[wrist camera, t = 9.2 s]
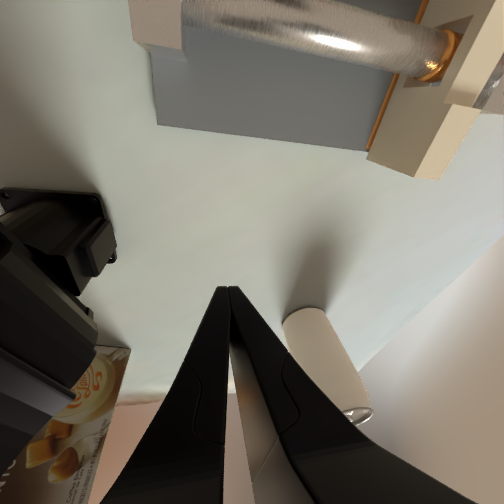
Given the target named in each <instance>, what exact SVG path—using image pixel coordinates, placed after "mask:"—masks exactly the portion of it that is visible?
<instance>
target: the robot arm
mask: <svg viewBox="0 0 504 504" xmlns="http://www.w3.org/2000/svg"><path fill="white" fill-rule="evenodd" d="M5 193H6V194H8V195H9V196H10V197H8V196H6V195H5ZM91 198H94V199H96V201H97V202H94V201H92V199H91ZM0 203H1V205H2V207H3V209H4V211H5V213H3V214H2V215H0V478H1V477H2V475H3V474H4V473H5V471H6V470H7V469H8V468H9V466H10V465H11V464H12V462H13V461H14V460H15V459H16V457H17V456H18V455H19V453H20V452H21V451H22V450H23V448H24V447H25V446H26V445H27V444H28V442H29V441H30V440H31V439H32V438H33V436H34V435H35V434H36V433H37V432H38V431H39V430H40V429H41V428H42V427H43V426H44V425H45V424H46V423H47V422H48V421H49V420H50V419H51V418H52V417H53V416H55V415H56V414H57V413H58V412H60V411H61V410H62V409H63V408H65V407H66V406H67V405H68V404H70V403H71V402H72V401H73V400H74V399H75V398H76V393H74V392H73V391H71V389H72V388H73V387H74V386H75V385H76V384H77V382H78V381H79V380H80V378H81V377H82V376H83V375H84V373H85V372H86V371H87V369H88V368H89V367H90V365H91V363H92V361H93V360H94V358H95V356H96V353H97V351H96V349H94V347H95V344H96V340H97V335H98V331H97V327H96V323H95V322H94V321H93V311H92V310H91V309H90V308H89V307H85V306H84V305H83V304H82V303H81V302H80V301H79V300H78V299H77V298H76V297H75V296H80V295H81V293H82V292H83V290H84V289H85V287H86V286H87V284H88V282H89V281H90V279H91V278H92V277H97V276H98V275H100V273H101V272H102V270H103V268H104V267H105V265H106V264H111V263H114V262H115V261H116V259H117V254H116V251H115V249H116V247H117V244H116V240H115V236H114V232H113V228H112V224H111V221H110V220H108V219H107V216H106V212H105V208H104V204H103V200H102V198H101V197H100V196H99V195H98V194H96V193H87V192H71V191H55V190H39V189H23V188H7V187H6V188H1V189H0ZM110 257H111V258H112V259H110ZM229 352H230V358H231V364H232V370H233V376H234V382H235V387H236V393H237V398H238V405H239V411H240V417H241V422H242V429H243V434H244V440H245V446H246V452H247V458H248V464H249V470H250V476H251V481H252V483H253V484H252V488H253V493H254V499H255V504H478V503H475V502H474V501H472V500H470V499H468V498H466V497H464V496H463V495H461V494H460V493H458V492H456V491H454V490H453V489H451V488H449V487H448V486H446V485H444V484H443V483H441V482H439V481H438V480H436V479H434V478H433V477H431V476H429V475H428V474H426V473H424V472H422V471H421V470H419V469H417V468H416V467H414V466H412V465H411V464H409V463H407V462H406V461H404V460H402V459H401V458H399V457H397V456H396V455H394V454H392V453H390V452H389V451H387V450H385V449H384V448H382V447H381V446H379V445H377V444H376V443H374V442H373V441H372V440H371V439H369V438H368V437H367V436H366V435H364V434H363V433H362V432H361V431H360V430H359V429H358V428H357V427H356V426H355V425H354V424H353V423H352V422H351V421H350V420H349V419H348V418H347V417H346V416H345V415H344V414H343V413H342V411H341V410H340V409H339V408H338V407H337V406H336V405H335V404H334V403H333V402H332V401H331V400H330V399H329V398H328V397H327V396H326V395H325V393H324V392H323V391H322V390H321V389H320V388H319V387H318V386H317V385H316V384H315V383H314V382H313V380H312V379H311V378H310V377H309V376H308V375H307V374H306V373H305V371H304V370H303V369H302V368H301V366H300V365H299V364H298V363H297V362H296V360H295V359H294V358H293V356H292V355H291V354H290V353H289V352H288V350H287V349H286V347H285V346H284V345H283V344H282V342H281V341H280V340H279V338H278V337H277V336H276V334H275V333H274V332H273V331H272V329H271V328H270V327H269V325H268V324H267V323H266V322H265V320H264V319H263V318H262V316H261V315H260V314H259V312H258V311H257V310H256V309H255V307H254V306H253V305H252V303H251V302H250V301H249V300H248V298H247V297H246V296H245V294H244V293H243V292H242V291H241V289H240V288H239V287H238V286H229V287H228V288H227V286H218V287H217V288H216V290H215V292H214V294H213V296H212V299H211V301H210V303H209V305H208V308H207V310H206V312H205V314H204V316H203V319H202V321H201V323H200V325H199V328H198V330H197V332H196V334H195V336H194V339H193V341H192V343H191V345H190V348H189V350H188V352H187V354H186V356H185V359H184V362H183V363H182V365H181V367H180V369H179V372H178V374H177V376H176V378H175V380H174V382H173V384H172V386H171V388H170V390H169V392H168V394H167V395H166V397H165V399H164V401H163V403H162V405H161V406H160V408H159V410H158V412H157V413H156V415H155V417H154V419H153V420H152V422H151V423H150V425H149V427H148V428H147V430H146V432H145V433H144V435H143V437H142V439H141V440H140V442H139V444H138V445H137V447H136V449H135V450H134V452H133V454H132V455H131V457H130V459H129V461H128V462H127V464H126V465H125V467H124V468H123V470H122V472H121V473H120V475H119V476H118V478H117V479H116V481H115V483H114V484H113V486H112V487H111V488H110V490H109V491H108V493H107V494H106V495H105V497H104V498H103V500H102V501H101V502H100V504H223V481H224V480H223V479H224V453H225V447H224V446H225V431H226V410H227V390H228V369H229Z"/></svg>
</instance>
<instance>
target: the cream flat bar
mask: <svg viewBox="0 0 504 504" xmlns="http://www.w3.org/2000/svg"><path fill="white" fill-rule="evenodd" d="M420 25H424V26H427V27H431V28H434V29H438V30H440V29H448V30H452V31H455V32H458V33H462V34H464V36H463V38H462V40H461V42H460V44H459V46H458V48H457V50H456V52H455V54H454V56H453V58H452V61H451V63H450V65H449V67H448V69H447V71H446V73H445V75H444V77H443V79H442V81H441V83H440V85H439V86H432V87H430V86H431V84H432V83H427V82H423V81H418V80H415V79H414V78H413V77H411V76H406V75H402V74H400V75H399V78H398V80H397V83H396V85H395V88H394V90H393V93H392V95H391V98H390V100H389V103H388V105H387V108H386V110H385V113H384V115H383V118H382V120H381V123H380V125H379V128H378V131H377V133H376V136H375V138H374V141H373V143H372V146H371V148H370V151H369V153H368V156H367V158H366V159H367V160H370V161H372V162H375V163H377V164H380V165H383V166H385V167H388V168H390V169H393V170H396V171H398V172H401V173H404V174H406V175H409V176H411V177H415V178H425V179H434V180H440V178H441V176H442V175H443V173H444V171H445V170H446V168H447V166H448V165H449V163H450V161H451V160H452V158H453V156H454V155H455V153H456V151H457V150H458V148H459V146H460V145H461V143H462V141H463V140H464V138H465V136H466V135H467V133H468V131H469V130H470V128H471V126H472V125H473V123H474V121H475V120H476V118H477V116H478V115H479V113H480V111H481V109H476V108H472V106H473V105H474V103H475V101H476V99H477V98H478V96H479V94H480V92H481V91H482V89H483V87H484V86H485V84H486V82H487V80H488V79H489V77H490V75H491V73H492V72H493V70H494V68H495V66H496V65H497V63H498V61H499V60H500V58H501V56H502V54H503V53H504V0H429V2H428V5H427V7H426V10H425V12H424V15H423V17H422V20H421V22H420Z"/></svg>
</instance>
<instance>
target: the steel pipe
mask: <svg viewBox="0 0 504 504" xmlns="http://www.w3.org/2000/svg"><path fill="white" fill-rule="evenodd" d="M128 2H129V10H130V18H131V26H132V34H133V40H134V41H135V42H136V43H137V44H139V45H140V46H141V47H142V48H144V49H145V50H146V51H147V52H149V53H150V54H154V55H159V56H164V57H169V58H174V59H180V60H185V61H187V27H192V28H196V29H201V30H205V31H209V32H214V33H218V34H223V35H227V36H232V37H236V38H241V39H245V40H250V41H254V42H259V43H263V44H268V45H272V46H277V47H281V48H286V49H290V50H295V51H299V52H303V53H308V54H312V55H317V56H321V57H326V58H330V59H335V60H339V61H344V62H348V63H353V64H357V65H362V66H366V67H371V68H375V69H380V70H384V71H389V72H393V73H398V74H402V75H406V76H411V77H413V78H414V79H415V80H418V81H423V82H427V83H436V82H438V83H441V81H442V79H443V77H444V75H445V73H446V71H447V69H448V67H449V65H450V63H451V61H452V58H453V56H454V54H455V52H456V50H457V48H458V46H459V44H460V42H461V40H462V38H463V36H464V35H463V34H462V33H458V32H455V31H452V30H448V29H440V30H438V29H434V28H431V27H427V26H424V25H420V24H417V23H413V22H410V21H406V20H403V19H399V18H396V17H392V16H389V15H385V14H382V13H378V12H375V11H371V10H368V9H365V8H361V7H358V6H354V5H351V4H347V3H344V2H340V1H337V0H128ZM186 26H187V27H186ZM472 108H476V109H481V111H480V113H481V114H499V115H504V53H503V54H502V56H501V58H500V60H499V61H498V63H497V65H496V66H495V68H494V70H493V72H492V73H491V75H490V77H489V79H488V80H487V82H486V84H485V86H484V87H483V89H482V91H481V92H480V94H479V96H478V98H477V99H476V101H475V103H474V105H473V106H472Z"/></svg>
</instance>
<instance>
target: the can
mask: <svg viewBox="0 0 504 504" xmlns="http://www.w3.org/2000/svg"><path fill="white" fill-rule="evenodd" d="M282 330H283V334H284V337H285V340H286V343H287V346H288V349H289V353H290V354H291V355H292V356H293V358H294V359H295V360H296V362H297V363H298V364H299V365H300V366H301V368H302V369H303V370H304V371H305V373H306V374H307V375H308V376H309V377H310V378H311V379H312V380H313V382H314V383H315V384H316V385H317V386H318V387H319V388H320V389H321V390H322V391H323V392H324V393H325V395H326V396H327V397H328V398H329V399H330V400H331V401H332V402H333V403H334V404H335V405H336V406H337V407H338V408H339V409H340V410H341V411H342V413H343V414H344V415H345V416H346V417H347V418H348V419H349V420H350V421H351V422H352V423H353V424H354V425H355V426H357V425H359V424H361V423H363V422H365V421H366V420H368V419H369V418H370V417H371V416H372V415H373V413H374V412H373V410H372V409H371V407H370V404H369V395H368V392H367V390H366V388H365V386H364V384H363V382H362V380H361V378H360V376H359V375H358V373H357V371H356V369H355V367H354V365H353V363H352V362H351V360H350V358H349V356H348V354H347V352H346V351H345V349H344V347H343V345H342V343H341V341H340V340H339V338H338V336H337V334H336V332H335V331H334V329H333V327H332V325H331V323H330V321H329V320H328V318H327V316H326V314H325V313H324V312H323V311H322V310H320V309H317V308H313V307H306V308H301V309H299V310H296V311H294V312H293V313H291V314H290V315H289V316H288V317H287V318H286V319H285V321H284V323H283V326H282Z"/></svg>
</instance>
